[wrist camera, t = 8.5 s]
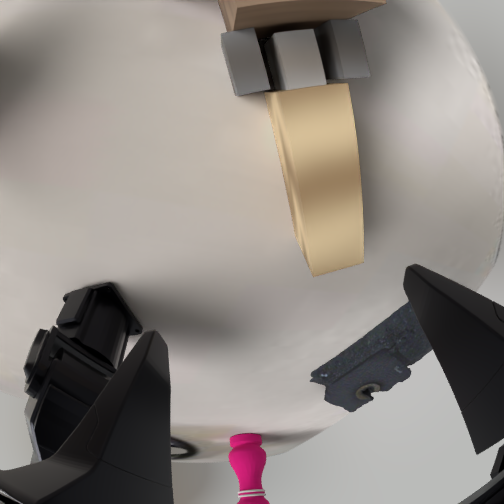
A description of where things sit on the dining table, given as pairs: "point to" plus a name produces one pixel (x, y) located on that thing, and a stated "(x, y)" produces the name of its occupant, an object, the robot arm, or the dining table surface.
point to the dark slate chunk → (374, 361)
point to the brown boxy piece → (290, 19)
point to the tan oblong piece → (316, 153)
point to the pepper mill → (248, 467)
